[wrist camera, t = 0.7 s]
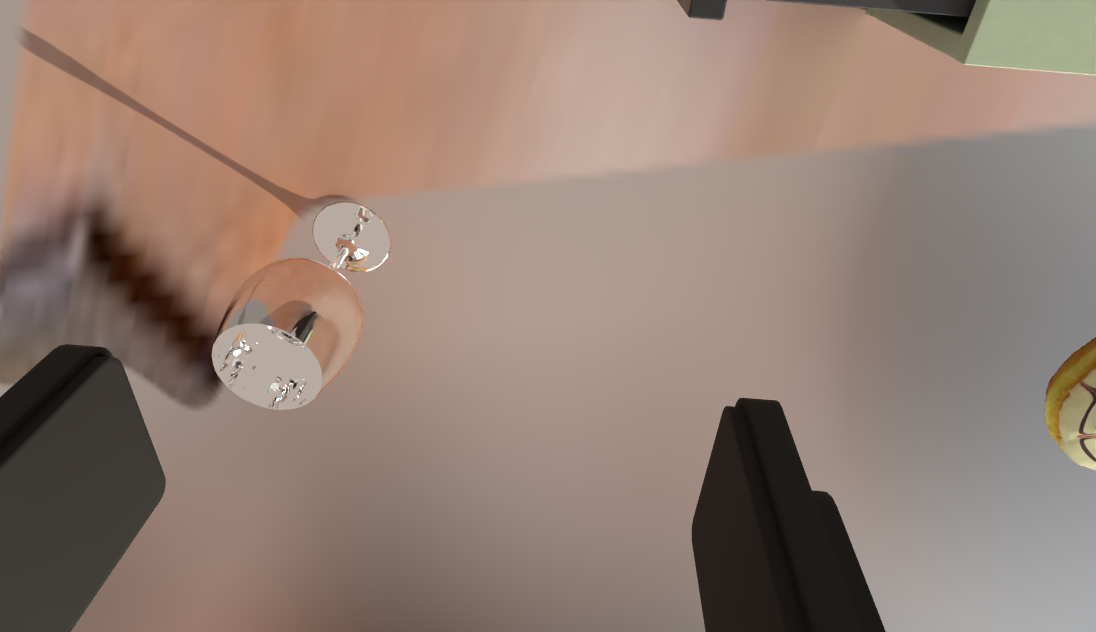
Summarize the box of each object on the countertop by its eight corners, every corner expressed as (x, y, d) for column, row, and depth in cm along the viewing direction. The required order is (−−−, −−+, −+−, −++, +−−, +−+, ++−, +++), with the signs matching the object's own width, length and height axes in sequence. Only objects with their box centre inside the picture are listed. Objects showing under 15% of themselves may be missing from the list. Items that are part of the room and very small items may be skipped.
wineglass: (293, 187, 36) (181, 307, 26) (397, 193, 36) (324, 315, 26) (310, 278, 40) (216, 415, 30) (406, 283, 39) (344, 423, 30)
